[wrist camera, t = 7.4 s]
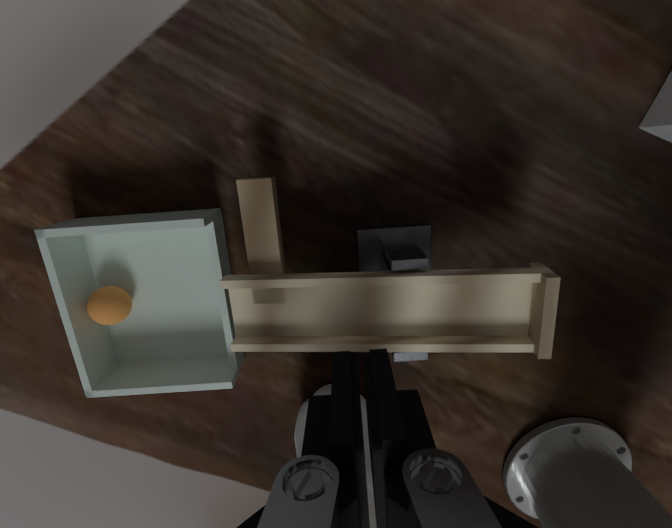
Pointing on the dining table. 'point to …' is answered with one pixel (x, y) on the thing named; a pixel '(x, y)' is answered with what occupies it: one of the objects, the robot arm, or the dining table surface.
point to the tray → (146, 300)
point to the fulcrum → (396, 257)
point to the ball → (109, 305)
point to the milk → (660, 113)
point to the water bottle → (371, 505)
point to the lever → (380, 300)
